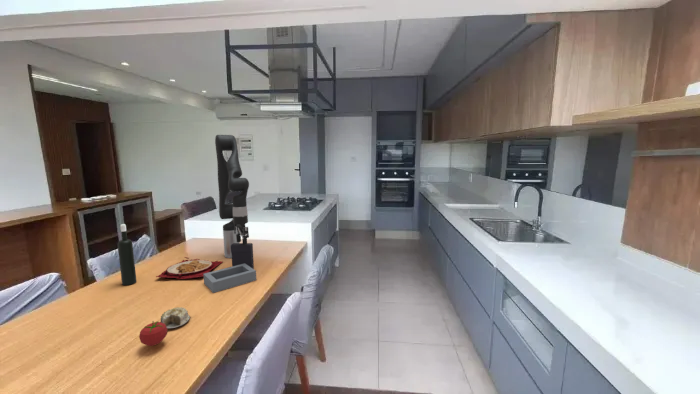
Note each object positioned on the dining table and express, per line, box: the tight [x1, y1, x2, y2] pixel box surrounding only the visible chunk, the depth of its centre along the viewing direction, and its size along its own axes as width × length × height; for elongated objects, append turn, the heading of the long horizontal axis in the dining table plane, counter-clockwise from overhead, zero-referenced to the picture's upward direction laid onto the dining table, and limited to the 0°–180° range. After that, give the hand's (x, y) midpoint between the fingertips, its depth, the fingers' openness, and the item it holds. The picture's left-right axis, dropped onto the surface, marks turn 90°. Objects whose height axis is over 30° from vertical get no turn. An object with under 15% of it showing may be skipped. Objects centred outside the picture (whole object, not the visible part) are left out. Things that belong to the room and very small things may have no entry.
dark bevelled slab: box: [231, 242, 255, 270], centre depth 160 cm, size 11×4×15 cm, turn 89°
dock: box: [203, 263, 257, 294], centre depth 145 cm, size 14×21×5 cm, turn 132°
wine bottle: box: [117, 223, 137, 286], centre depth 143 cm, size 6×6×30 cm
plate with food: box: [155, 256, 224, 280], centre depth 160 cm, size 24×26×3 cm
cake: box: [160, 307, 191, 329], centre depth 110 cm, size 10×10×5 cm
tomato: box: [138, 320, 169, 347], centre depth 97 cm, size 8×8×8 cm
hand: (241, 243), depth 159 cm, fingers open, 8 cm apart
